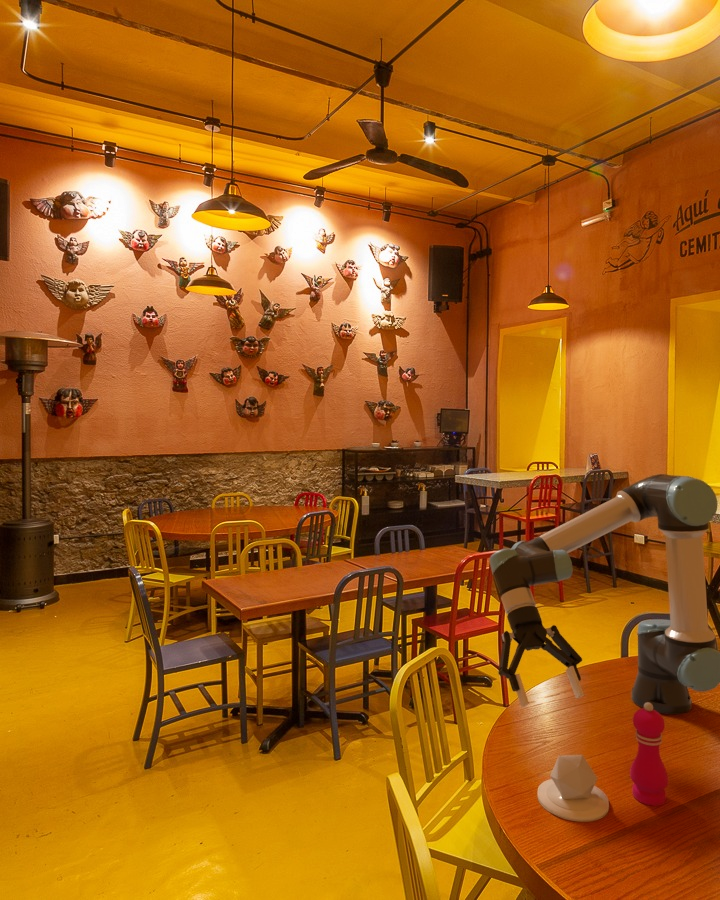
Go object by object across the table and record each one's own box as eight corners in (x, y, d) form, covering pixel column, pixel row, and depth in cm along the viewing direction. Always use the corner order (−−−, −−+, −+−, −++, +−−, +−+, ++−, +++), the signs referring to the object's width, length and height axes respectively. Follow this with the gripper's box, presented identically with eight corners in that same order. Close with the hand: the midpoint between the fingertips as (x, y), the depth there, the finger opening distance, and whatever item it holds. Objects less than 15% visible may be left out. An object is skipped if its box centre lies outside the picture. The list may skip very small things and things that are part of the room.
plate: (582, 778, 138) (582, 772, 138) (623, 815, 124) (623, 809, 124) (525, 787, 135) (525, 782, 135) (560, 826, 121) (560, 821, 121)
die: (590, 816, 124) (609, 769, 126) (551, 791, 125) (570, 745, 128) (576, 807, 131) (593, 763, 134) (539, 784, 132) (557, 741, 135)
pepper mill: (666, 811, 125) (665, 713, 125) (627, 800, 129) (626, 705, 129) (670, 793, 131) (669, 699, 131) (633, 784, 135) (632, 692, 135)
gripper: (560, 611, 157) (594, 698, 144) (468, 622, 151) (495, 714, 138) (574, 599, 151) (610, 688, 139) (478, 610, 145) (507, 704, 132)
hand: (553, 701), depth 138 cm, fingers open, 13 cm apart
